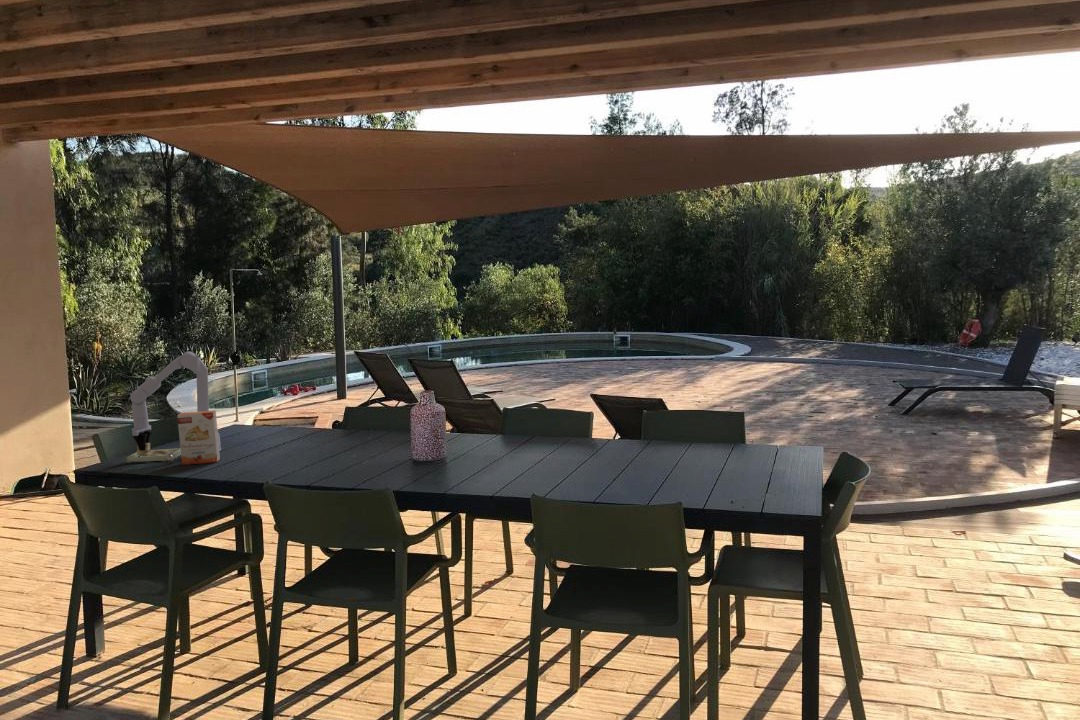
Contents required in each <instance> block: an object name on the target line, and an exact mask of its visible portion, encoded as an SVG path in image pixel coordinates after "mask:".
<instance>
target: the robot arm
mask: <svg viewBox="0 0 1080 720" xmlns="http://www.w3.org/2000/svg"><path fill="white" fill-rule="evenodd" d="M183 368H186V369H188V370H190V371H192V372H193V373H194V374H195V375H196V401H197V402H196V403H197V405H196V407H197V408H196V409H197V411H196V412H201V411H210V408H209V371H208V370H209V369H208V367H207V366H206V364H205V363H204V362H203V361H202V359H201V358H200V356H199V355H198V354H196V353H195V352H194V351H186V352H183V354H181V355H180V356H178V357H176V358H175V359H173V360H172V361H170V363H169V364H167V365H166V366H165V367H164V368H163V369H162V370H161V371H160V372H159V373H158V374H157V375H155V376H150V377H146V378H145V381H144V382H143V383H142V384H140V386H139V385H138V386H137V387H136V389H135V390H133V391H132V392H131V393H130V397H129V399H130V401H131V408H132V409H131V410H132V420H133V428H131V433H132V438H133V439H134V440H135V442H136V446H137V445H138V447H139V450H140V451H142V450H145V448H146V443H150V438H151V436H152V434H153V433H152V432H153V431H152V425H151V424H149V423H150V422H149V414H148V406H147V398H148V397H151V396H152V394H154V393H155V392H156V391H157V390H158V389H159V388H161V387H162V381H164V380H165V379H166V378H168V376H169V375H171V374H172V373H173V372H175V370H179V369H180V370H181V369H183ZM218 441H219V452H221V451H222V446H221V445H222V444H221V435H220V432H219V431H218Z"/></svg>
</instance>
